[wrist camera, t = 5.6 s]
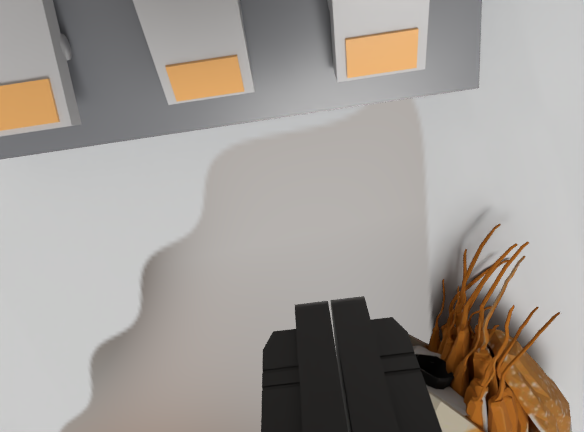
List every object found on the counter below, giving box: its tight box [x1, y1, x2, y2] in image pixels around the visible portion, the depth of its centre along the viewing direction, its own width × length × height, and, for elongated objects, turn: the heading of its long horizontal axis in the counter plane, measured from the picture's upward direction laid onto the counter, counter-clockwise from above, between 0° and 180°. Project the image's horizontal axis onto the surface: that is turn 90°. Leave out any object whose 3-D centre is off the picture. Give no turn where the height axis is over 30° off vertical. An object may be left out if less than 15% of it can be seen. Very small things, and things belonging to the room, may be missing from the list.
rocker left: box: [0, 0, 81, 137], centre depth 20 cm, size 4×6×2 cm, turn 8°
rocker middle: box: [133, 0, 255, 105], centre depth 20 cm, size 4×6×2 cm, turn 8°
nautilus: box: [408, 224, 572, 432], centre depth 31 cm, size 8×22×15 cm
